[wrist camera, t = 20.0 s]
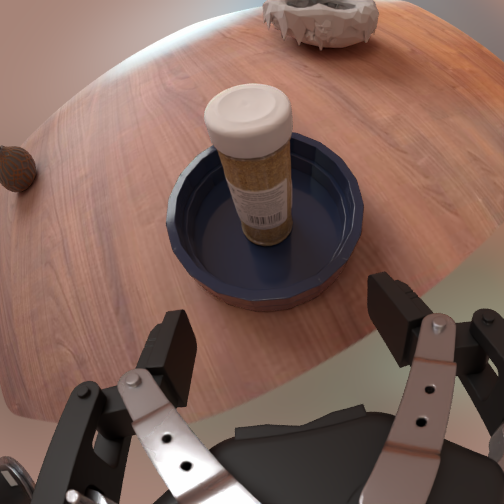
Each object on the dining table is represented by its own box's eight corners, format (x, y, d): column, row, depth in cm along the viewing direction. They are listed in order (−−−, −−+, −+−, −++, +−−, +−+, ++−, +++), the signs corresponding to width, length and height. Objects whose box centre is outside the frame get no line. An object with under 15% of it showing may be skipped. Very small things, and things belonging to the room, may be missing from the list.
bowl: (391, 71, 34) (400, 21, 24) (264, 63, 36) (257, 9, 27) (361, 26, 41) (364, -11, 32) (267, 22, 44) (262, -16, 35)
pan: (253, 350, 22) (245, 348, 18) (157, 222, 27) (137, 198, 23) (384, 233, 24) (400, 209, 20) (275, 138, 30) (272, 108, 25)
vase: (12, 188, 35) (-17, 162, 27) (36, 159, 36) (9, 129, 28) (19, 205, 33) (-15, 176, 25) (45, 172, 34) (14, 139, 26)
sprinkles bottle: (296, 207, 25) (297, 83, 13) (287, 252, 24) (283, 137, 12) (248, 199, 26) (218, 79, 14) (235, 243, 25) (188, 131, 12)
